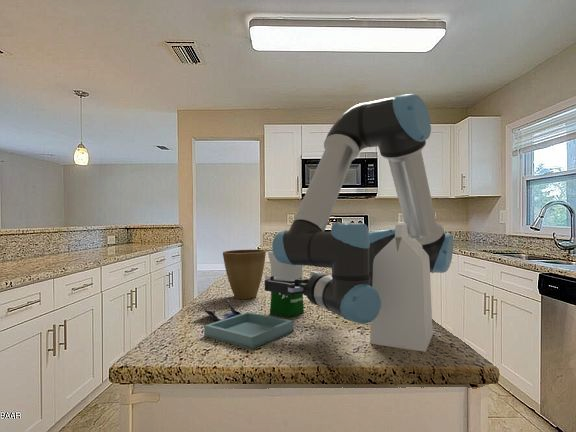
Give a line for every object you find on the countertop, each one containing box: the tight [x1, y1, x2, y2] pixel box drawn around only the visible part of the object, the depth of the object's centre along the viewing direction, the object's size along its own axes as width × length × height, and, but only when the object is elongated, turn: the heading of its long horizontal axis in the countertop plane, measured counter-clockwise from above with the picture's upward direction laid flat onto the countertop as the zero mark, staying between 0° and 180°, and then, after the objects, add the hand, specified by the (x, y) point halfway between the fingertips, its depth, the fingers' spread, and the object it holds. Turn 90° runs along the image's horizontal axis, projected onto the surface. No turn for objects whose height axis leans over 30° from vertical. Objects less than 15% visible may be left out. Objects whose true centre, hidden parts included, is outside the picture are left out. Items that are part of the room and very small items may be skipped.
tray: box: [203, 311, 294, 350], centre depth 90 cm, size 15×15×2 cm
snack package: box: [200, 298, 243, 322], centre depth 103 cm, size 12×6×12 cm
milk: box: [369, 223, 434, 353], centre depth 85 cm, size 12×12×26 cm
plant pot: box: [222, 249, 267, 300], centre depth 131 cm, size 15×15×16 cm
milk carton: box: [267, 250, 305, 319], centre depth 109 cm, size 9×9×20 cm
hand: (289, 277), depth 105 cm, fingers open, 13 cm apart
